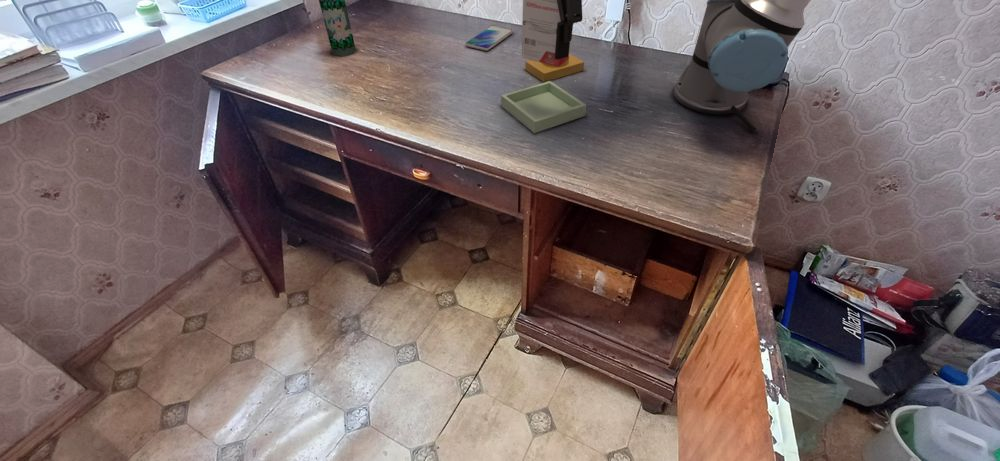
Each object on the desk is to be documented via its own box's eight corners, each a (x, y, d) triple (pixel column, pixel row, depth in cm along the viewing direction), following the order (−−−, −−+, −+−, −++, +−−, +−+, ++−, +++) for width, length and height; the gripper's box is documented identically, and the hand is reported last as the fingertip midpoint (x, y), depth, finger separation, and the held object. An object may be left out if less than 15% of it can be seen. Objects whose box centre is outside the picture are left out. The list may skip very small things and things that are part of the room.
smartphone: (513, 30, 133) (487, 48, 123) (513, 33, 133) (487, 52, 124) (491, 25, 135) (464, 43, 126) (491, 28, 136) (464, 46, 126)
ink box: (569, 58, 93) (576, -5, 85) (558, 67, 90) (564, 3, 82) (532, 49, 96) (535, -13, 88) (520, 57, 94) (522, -6, 85)
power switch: (583, 70, 115) (585, 54, 113) (543, 82, 111) (544, 66, 108) (563, 59, 120) (565, 43, 118) (525, 69, 116) (525, 53, 113)
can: (333, 57, 122) (317, -5, 112) (331, 48, 126) (316, -12, 116) (356, 53, 123) (343, -7, 113) (354, 45, 128) (341, -15, 117)
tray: (585, 116, 100) (586, 104, 98) (534, 133, 95) (534, 121, 93) (549, 91, 108) (550, 80, 106) (501, 106, 103) (500, 95, 101)
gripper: (617, -78, 71) (597, 64, 86) (536, -100, 85) (530, 26, 100) (578, -73, 68) (564, 74, 84) (500, -96, 82) (500, 33, 97)
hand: (546, 48), depth 92 cm, fingers closed on ink box, 9 cm apart
